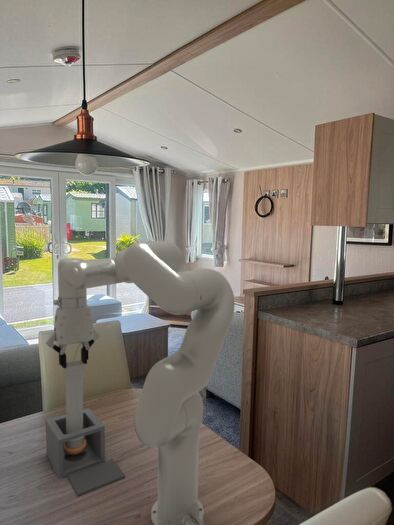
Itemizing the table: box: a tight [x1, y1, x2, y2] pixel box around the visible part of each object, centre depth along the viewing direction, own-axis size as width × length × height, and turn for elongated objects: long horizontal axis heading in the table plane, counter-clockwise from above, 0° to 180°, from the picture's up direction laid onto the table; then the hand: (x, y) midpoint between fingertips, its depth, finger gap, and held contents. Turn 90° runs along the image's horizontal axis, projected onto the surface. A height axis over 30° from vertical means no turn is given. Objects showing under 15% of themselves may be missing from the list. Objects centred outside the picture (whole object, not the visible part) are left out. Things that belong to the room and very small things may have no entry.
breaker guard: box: [45, 407, 106, 480], centre depth 112 cm, size 13×13×11 cm
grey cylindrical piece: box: [63, 343, 85, 448], centre depth 111 cm, size 6×6×30 cm
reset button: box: [64, 438, 86, 455], centre depth 112 cm, size 6×6×3 cm
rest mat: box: [66, 458, 126, 497], centre depth 105 cm, size 9×13×1 cm
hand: (74, 364), depth 110 cm, fingers closed on grey cylindrical piece, 5 cm apart
